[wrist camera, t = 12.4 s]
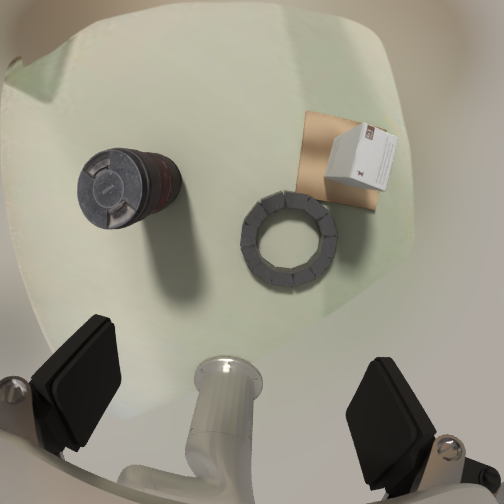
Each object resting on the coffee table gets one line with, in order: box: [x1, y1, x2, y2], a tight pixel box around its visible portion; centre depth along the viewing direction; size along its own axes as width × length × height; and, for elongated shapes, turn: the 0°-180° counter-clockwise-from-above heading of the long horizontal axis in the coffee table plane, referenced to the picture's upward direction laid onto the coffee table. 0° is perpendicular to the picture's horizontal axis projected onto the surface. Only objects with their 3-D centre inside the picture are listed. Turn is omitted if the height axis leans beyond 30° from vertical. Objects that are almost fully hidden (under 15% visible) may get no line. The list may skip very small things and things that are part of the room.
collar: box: [240, 190, 338, 287], centre depth 38 cm, size 13×13×2 cm
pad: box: [295, 111, 387, 210], centre depth 35 cm, size 12×12×1 cm
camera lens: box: [77, 148, 181, 229], centre depth 29 cm, size 8×8×15 cm
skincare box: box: [324, 123, 398, 191], centre depth 29 cm, size 6×4×12 cm
